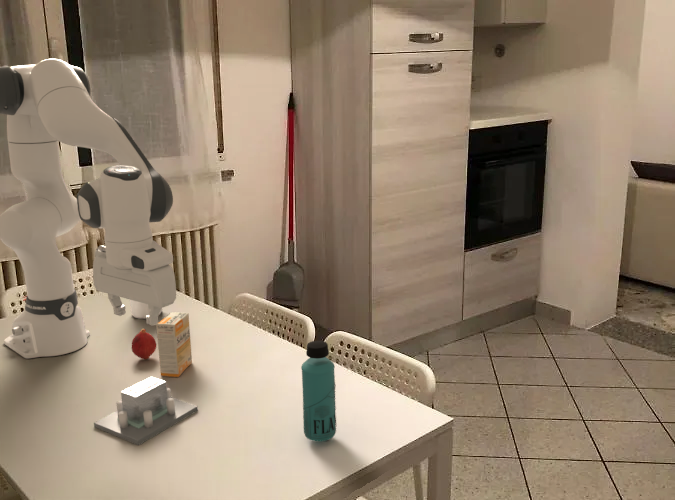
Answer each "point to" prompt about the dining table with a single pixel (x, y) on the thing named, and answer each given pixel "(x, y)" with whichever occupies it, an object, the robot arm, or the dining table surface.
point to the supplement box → (174, 344)
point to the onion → (143, 345)
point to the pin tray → (145, 432)
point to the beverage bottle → (318, 393)
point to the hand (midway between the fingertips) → (135, 319)
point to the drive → (144, 399)
